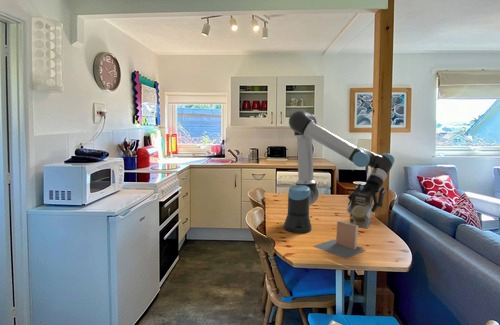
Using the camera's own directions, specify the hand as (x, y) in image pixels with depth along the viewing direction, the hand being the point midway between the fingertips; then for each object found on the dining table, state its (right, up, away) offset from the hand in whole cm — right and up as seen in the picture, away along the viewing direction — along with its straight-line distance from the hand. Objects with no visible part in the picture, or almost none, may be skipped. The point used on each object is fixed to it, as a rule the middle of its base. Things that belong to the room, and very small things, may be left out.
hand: (357, 214), depth 161 cm
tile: (-6, -15, -3) cm, 16 cm away
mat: (-11, -15, -6) cm, 20 cm away
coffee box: (+2, -6, +3) cm, 7 cm away
